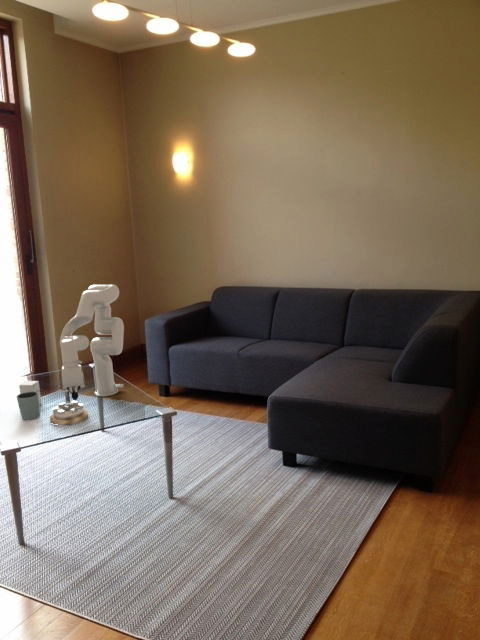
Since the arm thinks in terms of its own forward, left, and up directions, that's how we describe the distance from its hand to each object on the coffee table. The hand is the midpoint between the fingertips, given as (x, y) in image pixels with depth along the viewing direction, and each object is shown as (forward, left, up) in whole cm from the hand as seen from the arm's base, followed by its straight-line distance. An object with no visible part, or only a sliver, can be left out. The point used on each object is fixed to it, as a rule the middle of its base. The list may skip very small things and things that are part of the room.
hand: (75, 399), depth 288 cm
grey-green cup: (+22, -8, -8) cm, 25 cm away
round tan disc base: (+4, +4, -8) cm, 10 cm away
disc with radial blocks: (+4, +4, -6) cm, 8 cm away
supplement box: (+21, -26, -8) cm, 34 cm away
